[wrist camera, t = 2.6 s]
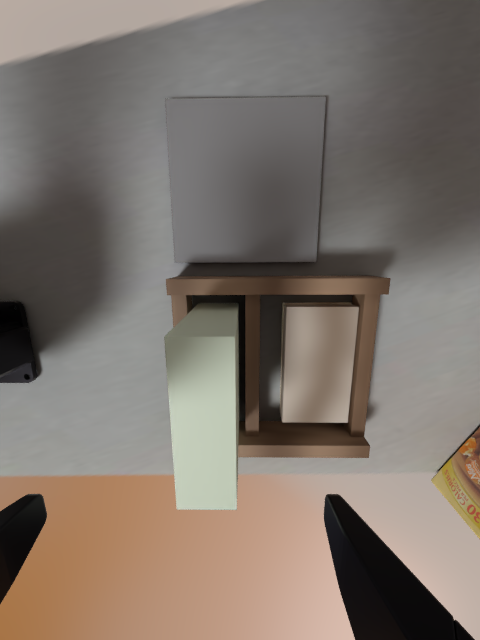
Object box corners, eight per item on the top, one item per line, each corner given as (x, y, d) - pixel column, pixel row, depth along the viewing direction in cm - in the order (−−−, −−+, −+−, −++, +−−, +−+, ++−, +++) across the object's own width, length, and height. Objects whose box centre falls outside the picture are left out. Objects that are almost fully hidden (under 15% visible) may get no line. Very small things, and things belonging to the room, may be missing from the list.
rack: (186, 430, 22) (178, 456, 19) (177, 276, 19) (165, 279, 16) (352, 431, 22) (368, 457, 19) (367, 275, 19) (390, 278, 16)
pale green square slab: (203, 409, 22) (176, 509, 13) (199, 302, 20) (164, 336, 11) (239, 409, 22) (236, 509, 13) (238, 302, 20) (235, 336, 11)
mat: (176, 262, 19) (174, 262, 19) (167, 104, 17) (165, 98, 16) (314, 261, 19) (316, 261, 18) (323, 102, 17) (325, 96, 16)
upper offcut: (280, 413, 21) (282, 422, 20) (284, 304, 19) (286, 306, 18) (341, 413, 21) (347, 422, 20) (351, 304, 19) (359, 307, 18)
